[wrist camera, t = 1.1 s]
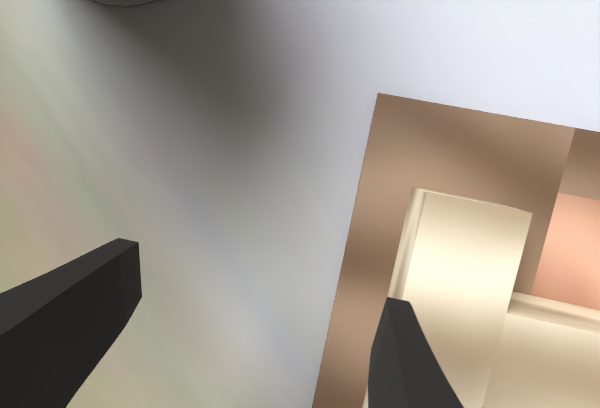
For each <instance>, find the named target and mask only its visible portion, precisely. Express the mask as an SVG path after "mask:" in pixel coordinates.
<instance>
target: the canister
mask: <svg viewBox="0 0 600 408" xmlns="http://www.w3.org/2000/svg"><path fill="white" fill-rule="evenodd" d="M94 1H97V2H100V3H103V4H108V5H119V6H133V5H138V4H143V3H147V2H151V1H154V0H94Z"/></svg>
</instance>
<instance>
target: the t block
mask: <svg viewBox="0 0 600 408" xmlns="http://www.w3.org/2000/svg"><path fill="white" fill-rule="evenodd" d="M532 214H533V213H530V212H526V211H523V210H520V209H516V208H513V207H510V206H506V205H503V204H500V203H496V202H490V201H485V200H480V199H475V198H470V197H465V196H460V195H455V194H450V193H445V192H440V191H434V190H429V189H424V188H419V187H414V186H412V190H411V194H410V199H409V203H408V208H407V212H406V217H405V221H404V226H403V230H402V234H401V239H400V243H399V248H398V252H397V257H396V261H395V266H394V270H393V274H392V279H391V283H390V288H389V292H388V297H391V298H395V299H400V300H405V301H409V302H410V303H411V305H412V307H413V309H414V312H415V314H416V317H417V319H418V321H419V324H420V326H421V328H422V331H423V333H424V335H425V337H426V339H427V341H428V343H429V345H430V347H431V350H432V352H433V353H434V355H435V357H436V359H437V361H438V363H439V365H440V367H441V369H442V371H443V373H444V374H445V376H446V378H447V380H448V382H449V383H450V385H451V387H452V388H453V390H454V392H455V393H456V395H457V397H458V399H459V400H460V402H461V403H462V405H463V407H464V408H482V407H483V408H600V310H596V309H591V308H587V307H582V306H578V305H573V304H568V303H564V302H559V301H554V300H550V299H545V298H540V297H536V296H531V295H527V294H522V293H517V292H513V287H514V283H515V279H516V275H517V271H518V268H519V264H520V260H521V256H522V252H523V249H524V245H525V241H526V237H527V233H528V230H529V226H530V222H531V218H532ZM363 408H368V385H367V390H366V394H365V399H364V403H363Z"/></svg>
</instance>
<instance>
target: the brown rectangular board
mask: <svg viewBox="0 0 600 408" xmlns="http://www.w3.org/2000/svg"><path fill="white" fill-rule="evenodd" d="M412 186H414V187H419V188H424V189H429V190H434V191H440V192H445V193H450V194H455V195H460V196H465V197H470V198H475V199H480V200H485V201H490V202H496V203H500V204H503V205H506V206H510V207H513V208H516V209H520V210H523V211H526V212H530V213H533V214H532V218H531V222H530V226H529V230H528V233H527V237H526V241H525V245H524V249H523V252H522V256H521V260H520V264H519V268H518V271H517V275H516V279H515V283H514V287H513V292H517V293H522V294H527V295H531V296H536V297H540V298H545V299H550V300H554V301H559V302H564V303H568V304H573V305H578V306H582V307H587V308H591V309H596V310H600V132H596V131H590V130H585V129H579V128H573V127H568V126H562V125H556V124H551V123H545V122H539V121H534V120H528V119H522V118H517V117H511V116H505V115H500V114H494V113H488V112H483V111H477V110H472V109H466V108H460V107H455V106H449V105H443V104H438V103H432V102H426V101H421V100H415V99H409V98H404V97H398V96H392V95H387V94H381V93H378V95H377V100H376V105H375V109H374V114H373V119H372V124H371V129H370V133H369V138H368V143H367V148H366V152H365V157H364V162H363V167H362V172H361V176H360V181H359V186H358V191H357V195H356V200H355V205H354V210H353V215H352V219H351V224H350V229H349V234H348V238H347V243H346V248H345V253H344V257H343V262H342V267H341V272H340V277H339V281H338V286H337V291H336V296H335V300H334V305H333V310H332V315H331V320H330V324H329V329H328V334H327V339H326V343H325V348H324V353H323V358H322V363H321V367H320V372H319V377H318V382H317V386H316V391H315V396H314V401H313V406H312V408H363V403H364V399H365V394H366V390H367V385H368V375H369V364H370V354H371V347H372V344H373V341H374V337H375V334H376V331H377V328H378V324H379V321H380V318H381V314H382V311H383V308H384V304H385V301H386V298H387V297H388V292H389V288H390V283H391V279H392V274H393V270H394V266H395V261H396V257H397V252H398V248H399V243H400V239H401V234H402V230H403V226H404V221H405V217H406V212H407V208H408V203H409V199H410V194H411V190H412ZM482 408H483V407H482Z"/></svg>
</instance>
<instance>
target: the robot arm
mask: <svg viewBox="0 0 600 408" xmlns="http://www.w3.org/2000/svg"><path fill="white" fill-rule="evenodd" d="M141 297H142V290H141V274H140V258H139V242H134V241H130V240H125V239H121V238H118V239H116V240H113V241H111V242H109V243H107V244H105V245H103V246H101V247H98V248H96V249H94V250H92V251H90V252H88V253H86V254H84V255H82V256H80V257H78V258H76V259H74V260H72V261H70V262H68V263H66V264H64V265H62V266H60V267H58V268H56V269H54V270H52V271H50V272H48V273H46V274H43V275H41V276H39V277H37V278H34V279H32V280H30V281H28V282H25V283H23V284H21V285H19V286H16V287H14V288H12V289H10V290H7V291H5V292H2V293H0V408H66V406H67V405H68V403H69V402H70V401H71V399H72V398H73V396H74V395H75V393H76V392H77V391H78V389H79V388H80V387H81V385H82V384H83V383H84V381H85V380H86V379H87V377H88V376H89V375H90V373H91V372H92V371H93V369H94V368H95V367H96V365H97V364H98V363H99V361H100V360H101V359H102V357H103V356H104V355H105V353H106V352H107V351H108V349H109V348H110V347H111V345H112V344H113V343H114V341H115V340H116V338H117V337H118V336H119V334H120V333H121V332H122V330H123V329H124V327H125V326H126V324H127V323H128V321H129V319H130V317H131V316H132V314H133V312H134V310H135V308H136V307H137V305H138V303H139V301H140V299H141ZM368 408H464V407H463V405H462V403H461V402H460V400H459V399H458V397H457V395H456V393H455V392H454V390H453V388H452V387H451V385H450V383H449V382H448V380H447V378H446V376H445V374H444V373H443V371H442V369H441V367H440V365H439V363H438V361H437V359H436V357H435V355H434V353H433V352H432V350H431V347H430V345H429V343H428V341H427V339H426V337H425V335H424V333H423V331H422V328H421V326H420V324H419V321H418V319H417V317H416V314H415V312H414V309H413V307H412V305H411V303H410V302H409V301H405V300H400V299H395V298H391V297H387V298H386V301H385V304H384V308H383V311H382V314H381V318H380V321H379V324H378V328H377V331H376V334H375V337H374V341H373V344H372V347H371V354H370V364H369V375H368Z"/></svg>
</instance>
